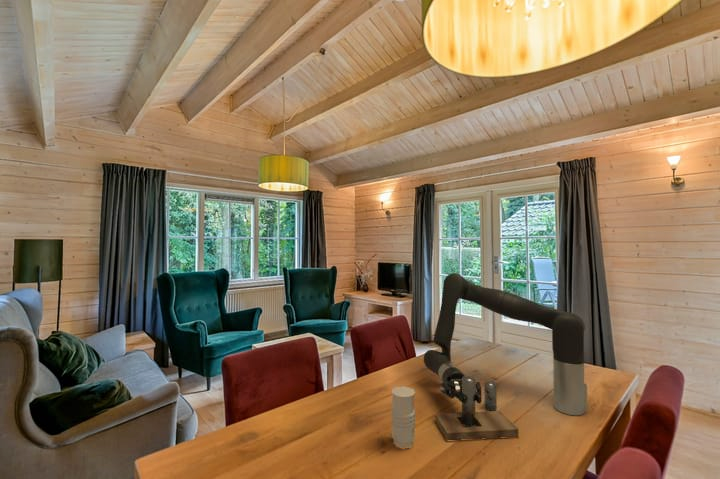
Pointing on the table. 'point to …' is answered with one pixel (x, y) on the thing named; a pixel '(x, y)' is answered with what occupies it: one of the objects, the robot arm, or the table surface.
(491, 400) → the short pin
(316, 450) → the table surface
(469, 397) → the tall pin
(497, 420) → the hole plate
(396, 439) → the white ribbed cylinder
